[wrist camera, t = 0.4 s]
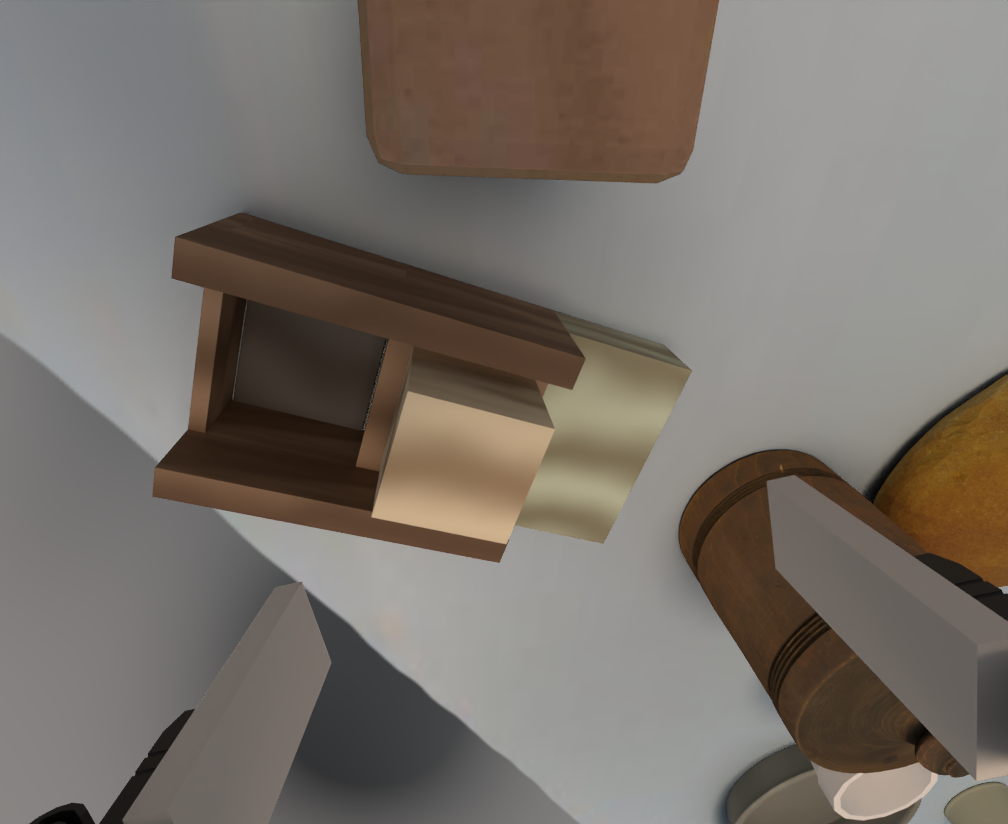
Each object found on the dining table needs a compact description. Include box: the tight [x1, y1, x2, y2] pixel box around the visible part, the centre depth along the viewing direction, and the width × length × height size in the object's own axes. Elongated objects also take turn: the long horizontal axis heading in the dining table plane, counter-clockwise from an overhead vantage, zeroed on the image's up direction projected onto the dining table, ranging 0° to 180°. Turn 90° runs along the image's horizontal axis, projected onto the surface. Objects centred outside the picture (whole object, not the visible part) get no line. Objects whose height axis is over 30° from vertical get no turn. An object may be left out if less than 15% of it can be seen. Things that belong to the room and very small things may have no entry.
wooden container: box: [679, 450, 969, 777], centre depth 40 cm, size 15×15×22 cm
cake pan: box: [726, 744, 922, 824], centre depth 69 cm, size 25×25×4 cm
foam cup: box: [811, 761, 938, 820], centre depth 53 cm, size 10×9×13 cm
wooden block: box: [358, 0, 719, 183], centre depth 23 cm, size 10×10×20 cm
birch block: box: [372, 346, 555, 544], centre depth 33 cm, size 8×8×7 cm
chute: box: [153, 213, 692, 563], centre depth 36 cm, size 15×30×10 cm, turn 71°
